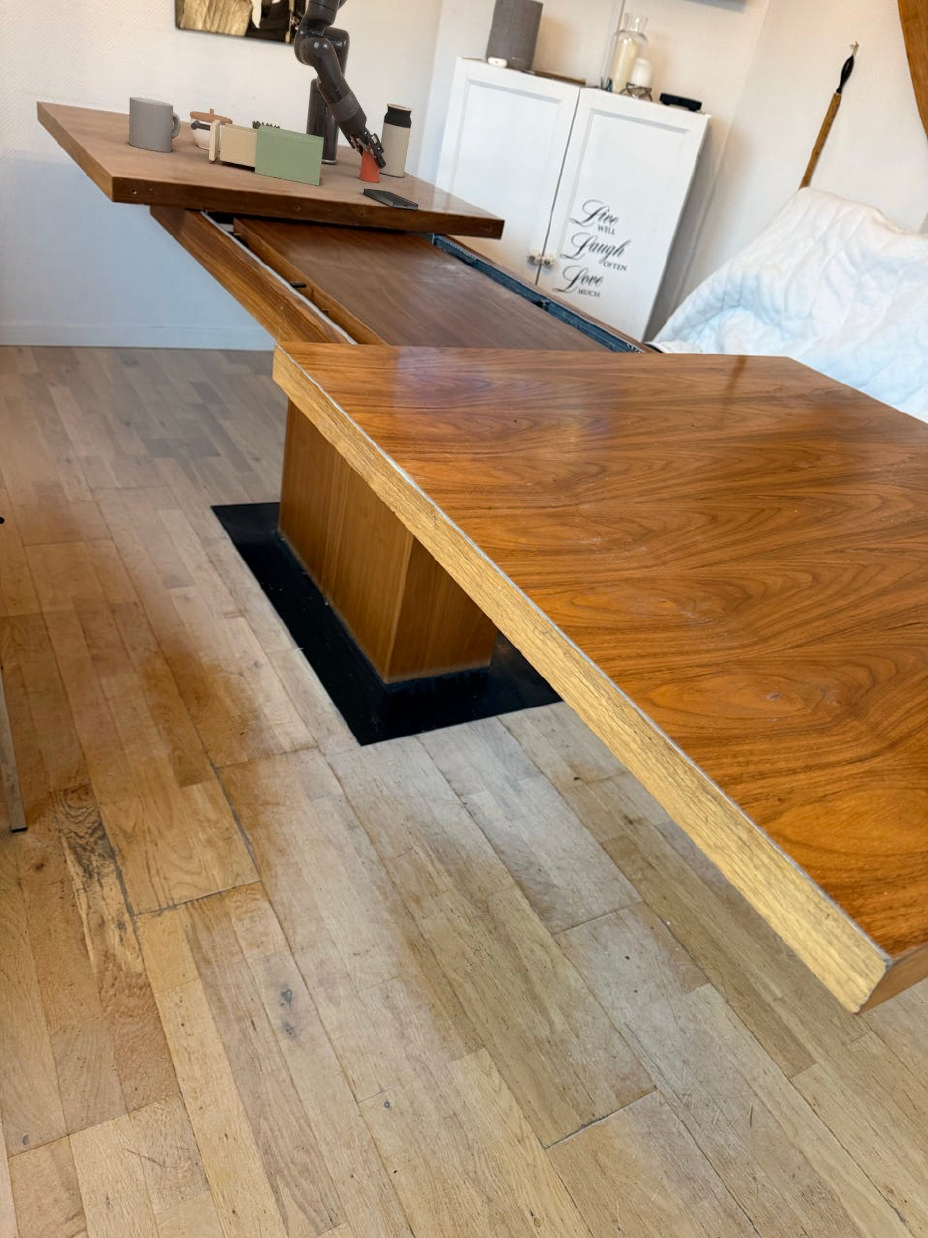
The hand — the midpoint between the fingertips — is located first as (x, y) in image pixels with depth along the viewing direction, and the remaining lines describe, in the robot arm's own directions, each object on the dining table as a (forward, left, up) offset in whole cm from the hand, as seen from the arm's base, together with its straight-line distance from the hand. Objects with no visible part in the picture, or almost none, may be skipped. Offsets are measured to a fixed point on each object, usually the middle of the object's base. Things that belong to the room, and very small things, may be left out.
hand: (375, 163), depth 251 cm
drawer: (+12, -41, -3) cm, 43 cm away
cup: (-13, -28, -4) cm, 31 cm away
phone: (+32, -6, -4) cm, 32 cm away
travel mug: (-18, +11, -4) cm, 22 cm away
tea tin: (+1, -2, -4) cm, 5 cm away
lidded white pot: (-10, -43, -4) cm, 44 cm away
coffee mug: (+4, -58, -4) cm, 58 cm away
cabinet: (+16, -28, -4) cm, 32 cm away
